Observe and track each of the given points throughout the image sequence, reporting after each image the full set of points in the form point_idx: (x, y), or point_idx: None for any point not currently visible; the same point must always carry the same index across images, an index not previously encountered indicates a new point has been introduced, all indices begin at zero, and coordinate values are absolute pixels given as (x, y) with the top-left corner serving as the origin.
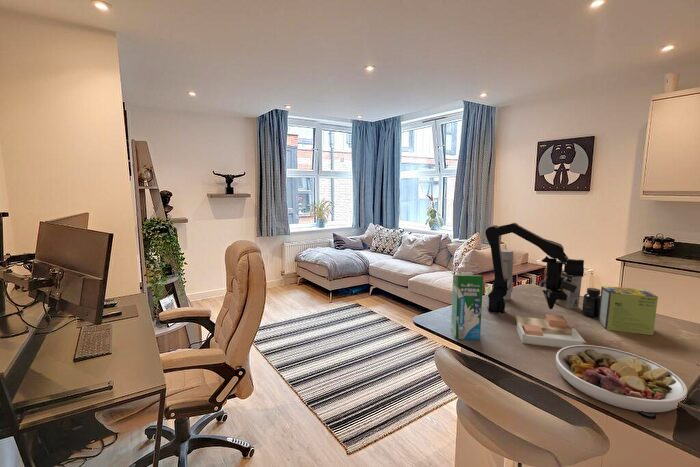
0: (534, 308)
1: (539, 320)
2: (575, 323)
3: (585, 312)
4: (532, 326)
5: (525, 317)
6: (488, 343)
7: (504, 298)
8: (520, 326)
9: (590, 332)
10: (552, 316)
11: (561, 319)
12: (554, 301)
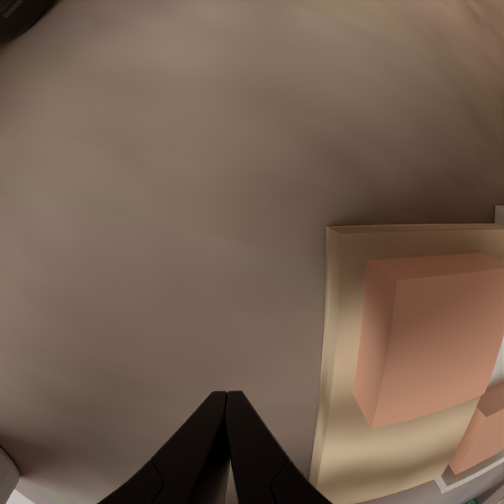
0: (12, 362)
1: (367, 425)
2: (222, 96)
3: (20, 14)
4: (485, 440)
5: (321, 484)
6: (495, 479)
7: (11, 471)
8: (482, 471)
9: (400, 51)
10: (423, 379)
11: (486, 305)
12: (307, 492)
